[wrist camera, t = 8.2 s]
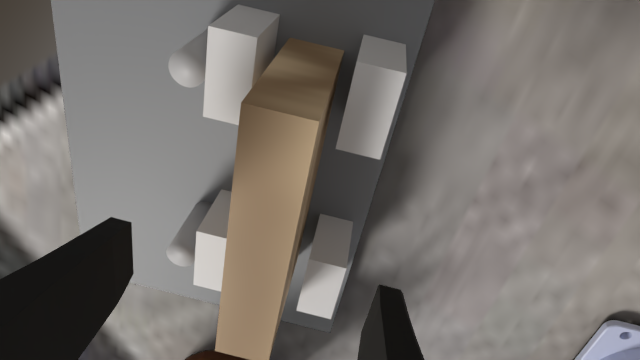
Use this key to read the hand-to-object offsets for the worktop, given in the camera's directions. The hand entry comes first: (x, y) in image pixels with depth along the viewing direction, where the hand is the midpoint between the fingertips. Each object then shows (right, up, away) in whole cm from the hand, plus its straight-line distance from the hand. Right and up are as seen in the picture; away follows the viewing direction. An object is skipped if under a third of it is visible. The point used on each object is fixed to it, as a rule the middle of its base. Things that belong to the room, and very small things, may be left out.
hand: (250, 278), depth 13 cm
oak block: (+1, +4, +6) cm, 7 cm away
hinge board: (-2, +5, +7) cm, 9 cm away
